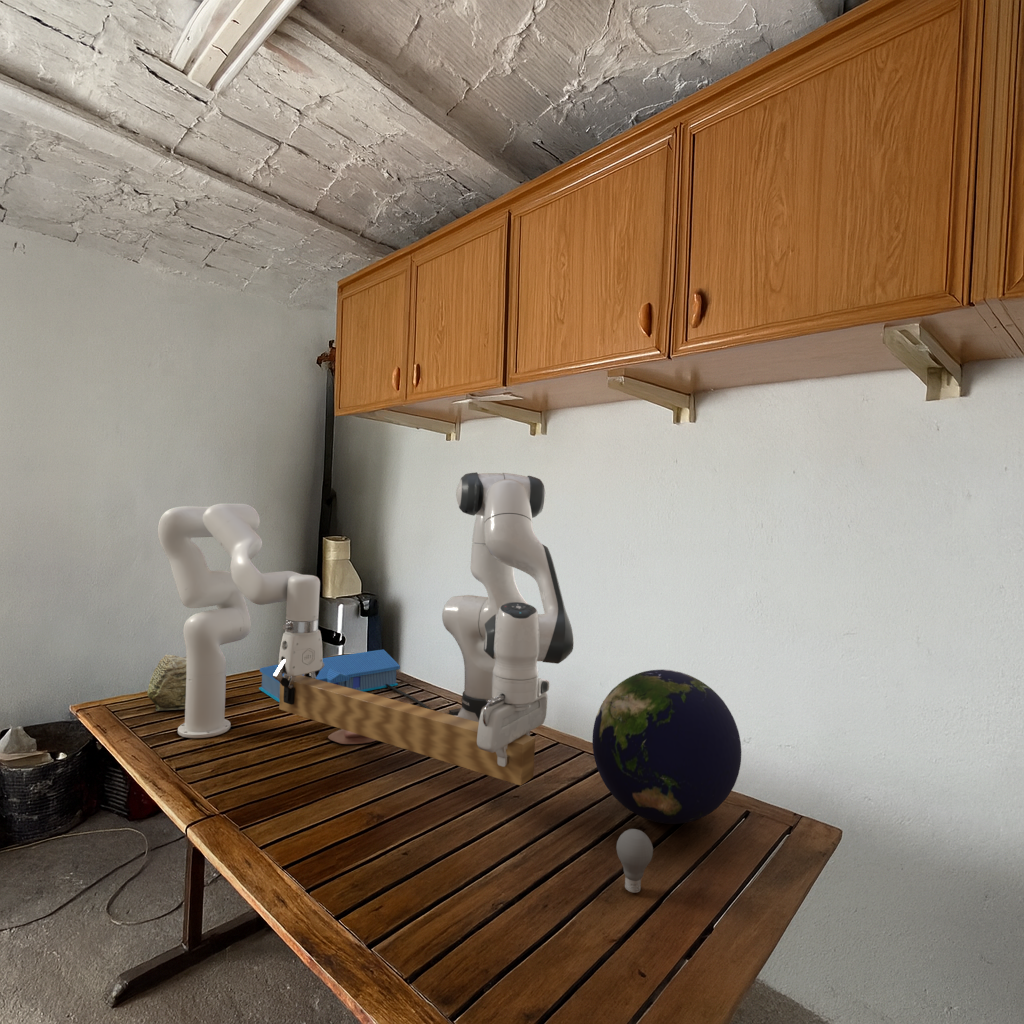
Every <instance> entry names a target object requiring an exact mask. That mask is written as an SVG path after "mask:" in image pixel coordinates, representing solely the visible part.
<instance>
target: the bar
mask: <svg viewBox="0 0 1024 1024" xmlns="http://www.w3.org/2000/svg"><path fill="white" fill-rule="evenodd" d="M289 679H290V677H289ZM289 679H288V681H289ZM293 687H294V688H295V700H294V704H292V705H291V704H288V703H285V702H284V701H283V700H284V698H283V697H284V686H282V684H281V683H280V700H279V702H278V703H279V705H278V710H281V711H284V712H287V713H290V714H293V715H296V716H299V717H302V718H305V719H309V720H311V721H314V722H318V723H321V724H325V725H327V726H331V727H334V728H337V729H339V730H341V729H343V730H346V731H349V732H353V733H356V734H359V735H362V736H365V737H368V738H372V739H375V740H376V741H378V742H381V743H384V744H387V745H391V746H394V747H396V748H400V749H403V750H406V751H410V752H413V753H416V754H419V755H423V756H426V757H429V758H431V759H436V760H438V761H441V762H444V763H448V764H451V765H454V766H458V767H460V768H463V769H467V770H469V771H473V772H476V773H480V774H483V775H485V776H488V777H491V778H492V777H493V778H495V779H498V780H502V781H504V782H508V783H511V784H514V785H517V786H520V787H521V786H522V785H524V784H526V783H527V782H529V781H530V780H531V779H533V778H534V772H535V771H534V769H535V752H536V751H535V750H536V748H535V747H536V737H535V736H533V735H530V736H528V735H523V736H521V737H520V738H518V739H516V740H514V741H513V742H511V743H509V744H508V747H507V749H506V753H507V755H509V764H508V765H506V766H505V767H502V766H499V765H498V764H497V758H498V756H497V754H496V752H493V753H492V752H488V751H484V750H481V749H479V747H478V745H477V733H478V725H479V722H476V721H472V720H468V719H464V718H461V717H457V716H453V715H449V714H448V713H446V712H441V711H438V710H435V709H432V710H431V708H430V709H427V708H424V707H423V706H420V705H416V704H411V703H408V702H404V701H400V700H398V699H397V700H396V699H392V698H389V697H386V696H381V695H379V694H374V693H370V692H368V691H365V692H363V691H359V690H355V689H352V688H348V687H344V686H340V685H337V684H333V683H329V682H325V681H322V680H318V679H314V678H310V677H306V676H303V675H300V676H296V677H295V681H294V685H293Z"/></svg>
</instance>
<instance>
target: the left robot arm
mask: <svg viewBox="0 0 1024 1024" xmlns="http://www.w3.org/2000/svg"><path fill="white" fill-rule="evenodd" d="M158 521H159V522H158V526H157V537H158V540H159V543H160V546H161V549H162V551H163V553H164V554H165V556H166V559H167V560H168V563H169V565H170V568H171V574H172V576H173V581H174V583H175V586H176V590H177V593H178V597H179V600H180V601H181V604H182V605H183V606H184V607H185V608H187V609H200V608H201V609H202V608H208V607H215V606H216V607H217V608H215V609H209V610H204V611H199V612H196V613H194V614H192V615H191V616H189V617H188V618H187V619H186V620H185V622H184V624H183V629H182V631H183V632H182V634H183V639H184V646H185V657H187V666H186V701H185V709H184V722H182V724H180V725H179V726H178V727H177V734H178V735H179V736H180V737H182V738H188V739H207V738H212V737H216V736H220V735H222V734H224V733H227V732H228V731H230V729H231V727H232V725H231V723H232V722H231V721H230V720H228V719H226V718H225V715H226V692H227V691H226V689H227V659H226V657H225V654H224V653H223V651H222V649H221V646H222V645H226V644H230V643H235V642H238V641H242V640H243V639H245V638H246V637H248V636H249V634H250V632H251V628H252V619H251V614H250V610H249V608H248V604H247V602H246V601H247V600H248V601H250V602H251V603H253V604H255V605H260V606H264V605H269V604H275V603H282V602H283V603H284V602H286V607H285V608H286V609H285V624H283V625H282V629H283V631H284V632H283V634H282V637H281V642H280V646H279V653H278V664H279V666H278V668H277V670H276V671H275V673H274V675H273V678H275V679H276V680H278V681H279V682H280V683H281V684H282V686H284V697H283V698H284V700H283V701H284V702H285V703H288V704H291V705H292V704H294V700H295V688H294V687H293V685H294V681H295V677H296V676H300V675H304V676H306V677H310V678H314V679H316V677H317V675H318V674H319V671H321V669H322V668H323V667H324V663H323V658H324V656H323V655H324V654H323V653H324V652H323V651H324V650H323V640H322V639H323V638H322V633H321V630H320V629H319V612H320V592H321V580H320V578H319V577H318V576H316V575H313V574H302V573H299V572H296V571H293V570H280V571H269V572H261V571H260V570H259V569H258V568H257V567H256V566H255V564H254V563H253V562H252V559H254V558H255V557H256V556H257V555H258V554H259V552H260V551H261V549H262V546H263V540H262V538H261V536H260V535H259V534H258V533H257V532H256V531H257V530H258V529H259V527H260V522H261V519H260V515H259V513H258V511H257V510H256V508H255V507H253V506H252V505H250V504H248V503H225V502H224V503H216V504H213V505H211V506H203V505H202V506H199V505H184V506H183V505H182V506H176V507H172V508H170V509H167V510H165V511H164V512H163V513H162V515H161V516H160V518H159V520H158ZM193 538H214V539H215V541H216V542H217V543H218V544H219V545H220V546H221V548H222V549H223V550H224V551H225V552H226V554H227V555H228V556H229V557H230V558H231V560H230V566H229V567H230V571H229V570H226V569H225V570H223V569H218V570H210V568H209V566H208V564H207V560H206V559H207V558H206V556H205V555H204V552H203V551H202V549H201V548H200V547H199V546H198V545H197V544H195V542H193V541H192V539H193ZM245 598H246V599H247V600H246V599H245ZM283 673H284V677H283V676H282V674H283ZM289 677H290V679H289ZM288 679H289V681H288Z"/></svg>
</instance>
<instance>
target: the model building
mask: <svg viewBox="0 0 1024 1024" xmlns="http://www.w3.org/2000/svg"><path fill="white" fill-rule="evenodd" d="M323 663H324V667H323V668H322V669H321V671H319V674H318V675H317V677H316V679H318V680H322V681H325V682H329V683H333V684H337V685H340V686H344V687H348V688H352V689H355V690H359V691H363V692H369V691H373V690H381V689H385V688H388V687H387V686H386V684H388V685H390V686H392V687H395V686H399V683H398V682H397V670H400V669H401V665H400V664H399V663H398V662H397V661H396V660H395V659H394V658H393V657H392V656H391V654H389V653H388V652H387V651H386V650H385V649H376V650H368V651H363V652H356V653H349V654H342V655H341V654H340V655H335V656H329V657H328V656H327V657H323ZM278 666H279V663H278V664H272V665H268V666H264V667H263V666H262V667H260V668H259V672H260V673H261V686H260V687H258V690H260V691H261V692H262V693H264V694H265V695H267V696H268V697H270V698H271V699H273V700H274V701H276V702H277V703H279V700H280V682H279V681H278V680H276V679H275V678H273V675H274V673H275V671H276V670H277V668H278ZM282 676H283V677H284V673H283V674H282ZM303 676H304V675H303Z"/></svg>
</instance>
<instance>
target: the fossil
mask: <svg viewBox="0 0 1024 1024" xmlns="http://www.w3.org/2000/svg"><path fill="white" fill-rule="evenodd" d="M186 666H187V657H186V656H183V657H182V656H178V655H175V654H174V655H173V654H165V655H164V656H163V657H162V658H161V659H160V660H159V662H158V663H157V666H156V667H155V669H154V670H153V672H152V675H151V677H150V680H149V684H148V688H147V697H148V699H149V700H150V701H152V703H153V704H154V706H155V711H158V712H159V711H162V712H163V711H177V710H185V701H186Z"/></svg>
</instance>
